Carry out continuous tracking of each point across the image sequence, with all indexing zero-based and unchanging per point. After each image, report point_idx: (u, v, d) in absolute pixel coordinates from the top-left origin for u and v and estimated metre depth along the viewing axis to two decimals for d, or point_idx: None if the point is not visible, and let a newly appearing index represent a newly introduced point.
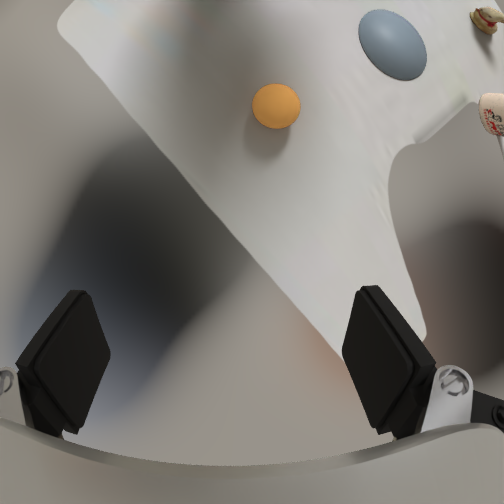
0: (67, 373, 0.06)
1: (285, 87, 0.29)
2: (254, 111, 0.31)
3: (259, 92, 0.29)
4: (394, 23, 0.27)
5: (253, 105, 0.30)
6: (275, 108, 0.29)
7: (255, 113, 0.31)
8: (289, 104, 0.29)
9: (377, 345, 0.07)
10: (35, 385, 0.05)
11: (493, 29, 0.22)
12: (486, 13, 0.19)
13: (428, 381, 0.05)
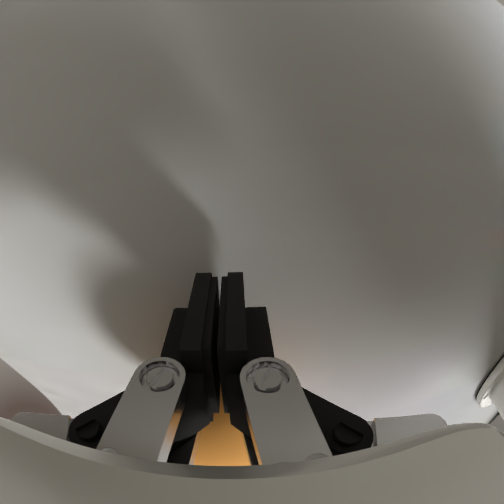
0: (215, 355, 0.07)
1: None
2: None
3: None
4: None
5: None
6: None
7: None
8: None
9: None
10: (196, 371, 0.06)
11: None
12: None
13: None
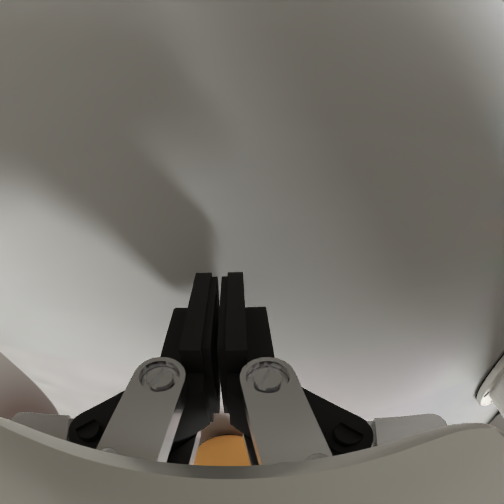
0: (215, 355, 0.07)
1: None
2: (237, 436, 0.16)
3: None
4: None
5: None
6: (219, 464, 0.13)
7: (233, 436, 0.16)
8: None
9: None
10: (196, 371, 0.06)
11: None
12: None
13: None
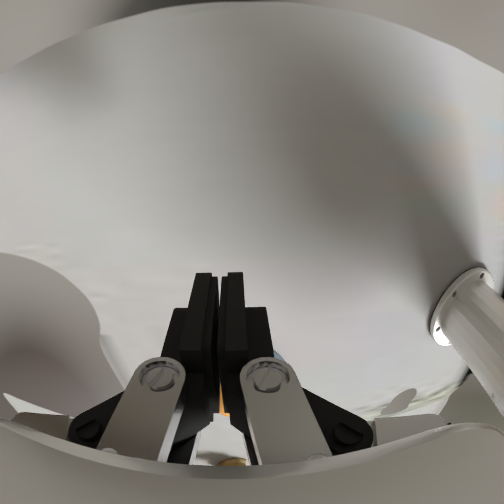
0: (215, 355, 0.07)
1: None
2: None
3: None
4: None
5: None
6: (229, 416, 0.27)
7: None
8: None
9: None
10: (196, 371, 0.06)
11: None
12: None
13: None
